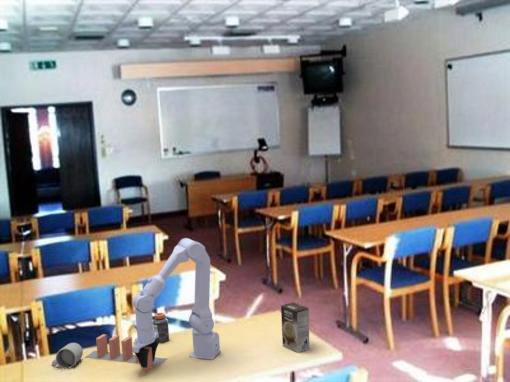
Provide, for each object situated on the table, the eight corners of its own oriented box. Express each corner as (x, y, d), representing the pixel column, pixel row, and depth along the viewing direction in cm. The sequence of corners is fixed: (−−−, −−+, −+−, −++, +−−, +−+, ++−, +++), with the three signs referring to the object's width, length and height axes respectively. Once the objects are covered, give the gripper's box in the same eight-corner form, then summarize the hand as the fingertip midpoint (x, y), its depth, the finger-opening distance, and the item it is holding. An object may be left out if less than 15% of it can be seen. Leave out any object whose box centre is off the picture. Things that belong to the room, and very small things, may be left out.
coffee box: (281, 346, 220) (280, 305, 218) (294, 341, 224) (293, 301, 222) (297, 353, 213) (295, 311, 211) (310, 348, 217) (309, 307, 215)
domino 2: (120, 354, 219) (118, 335, 218) (113, 359, 215) (112, 340, 214) (116, 354, 220) (115, 335, 219) (110, 359, 216) (108, 339, 215)
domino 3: (133, 356, 217) (131, 336, 217) (126, 360, 213) (125, 341, 212) (129, 355, 218) (127, 336, 217) (122, 360, 214) (121, 341, 213)
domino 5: (153, 366, 208) (151, 346, 207) (146, 372, 204) (145, 351, 203) (149, 366, 208) (147, 346, 207) (142, 371, 204) (141, 351, 203)
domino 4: (145, 357, 216) (144, 338, 215) (139, 362, 212) (138, 342, 211) (142, 357, 216) (140, 337, 215) (135, 361, 212) (134, 342, 211)
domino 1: (108, 353, 221) (106, 334, 220) (101, 358, 217) (99, 338, 216) (104, 352, 222) (102, 334, 221) (97, 357, 218) (96, 338, 217)
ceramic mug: (85, 359, 217) (82, 339, 217) (76, 368, 209) (74, 348, 208) (57, 360, 218) (55, 340, 217) (48, 369, 210) (46, 349, 209)
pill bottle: (171, 338, 234) (169, 311, 233) (167, 344, 228) (165, 316, 227) (156, 338, 235) (154, 311, 233) (152, 344, 229) (150, 316, 228)
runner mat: (168, 359, 214) (167, 358, 214) (159, 366, 208) (159, 365, 208) (94, 351, 225) (94, 350, 225) (84, 358, 219) (84, 357, 219)
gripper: (145, 319, 212) (148, 354, 214) (123, 334, 199) (126, 371, 200) (162, 320, 210) (165, 356, 212) (141, 335, 196) (144, 373, 198)
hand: (147, 364), depth 206 cm, fingers closed on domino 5, 4 cm apart
